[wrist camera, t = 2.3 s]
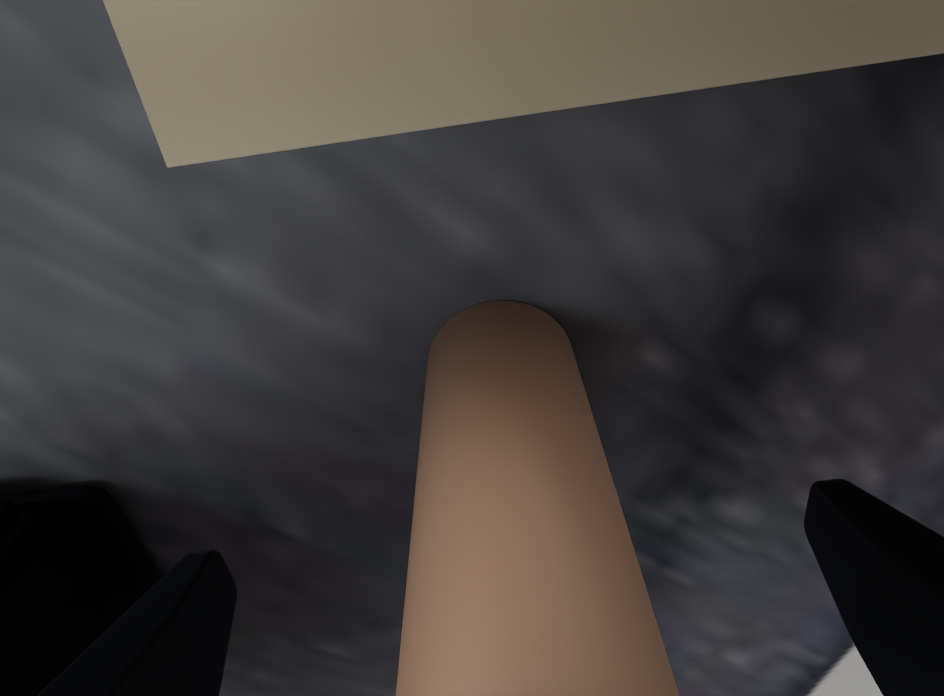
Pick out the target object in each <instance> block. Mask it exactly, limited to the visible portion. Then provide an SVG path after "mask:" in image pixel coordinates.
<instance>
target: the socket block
mask: <svg viewBox="0 0 944 696" xmlns="http://www.w3.org/2000/svg"><path fill="white" fill-rule="evenodd" d="M103 2H104V4H105V7H106V9H107V12H108V15H109V17H110V20H111V22H112V25H113V28H114V30H115V33H116V35H117V38H118V41H119V43H120V46H121V48H122V51H123V54H124V56H125V59H126V61H127V64H128V67H129V69H130V72H131V74H132V77H133V80H134V82H135V85H136V87H137V90H138V93H139V95H140V98H141V100H142V103H143V106H144V108H145V111H146V113H147V116H148V118H149V121H150V124H151V126H152V129H153V131H154V134H155V137H156V139H157V142H158V144H159V147H160V150H161V152H162V155H163V157H164V160H165V163H166V165H167V168H169V167H175V166H182V165H189V164H196V163H202V162H209V161H216V160H223V159H230V158H236V157H243V156H250V155H257V154H264V153H270V152H277V151H284V150H291V149H298V148H304V147H311V146H318V145H325V144H331V143H338V142H345V141H352V140H359V139H365V138H372V137H379V136H386V135H393V134H399V133H406V132H413V131H420V130H426V129H433V128H440V127H447V126H454V125H460V124H467V123H474V122H481V121H488V120H494V119H501V118H508V117H515V116H521V115H528V114H535V113H542V112H549V111H555V110H562V109H569V108H576V107H583V106H589V105H596V104H603V103H610V102H617V101H623V100H630V99H637V98H644V97H650V96H657V95H664V94H671V93H678V92H684V91H691V90H698V89H705V88H712V87H718V86H725V85H732V84H739V83H745V82H752V81H759V80H766V79H773V78H779V77H786V76H793V75H800V74H807V73H813V72H820V71H827V70H834V69H840V68H847V67H854V66H861V65H868V64H874V63H881V62H888V61H895V60H902V59H908V58H915V57H922V56H929V55H936V54H942V53H944V0H103Z"/></svg>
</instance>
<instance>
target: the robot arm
mask: <svg viewBox="0 0 944 696" xmlns="http://www.w3.org/2000/svg"><path fill="white" fill-rule="evenodd" d="M804 528H805V533H806V536H807V539H808V541H809V543H810V546H811V548H812V550H813V552H814V555H815V557H816V559H817V562H818V564H819V566H820V569H821V571H822V573H823V576H824V578H825V580H826V582H827V585H828V587H829V589H830V592H831V594H832V596H833V599H834V601H835V603H836V606H837V608H838V610H839V612H840V615H841V617H842V619H843V622H844V624H845V626H846V628H847V630H848V632H849V634H850V636H851V638H852V640H853V642H854V644H855V646H856V648H857V650H858V652H859V653H860V655H861V657H862V659H863V660H864V662H865V664H866V666H867V668H868V669H869V671H870V673H871V675H872V676H873V678H874V680H875V682H876V684H877V685H878V687H879V689H880V691H881V692H882V694H883V695H884V696H944V537H943V536H941V535H940V534H938V533H936V532H934V531H933V530H931V529H929V528H928V527H926V526H924V525H922V524H921V523H919V522H917V521H916V520H914V519H912V518H910V517H909V516H907V515H905V514H904V513H902V512H900V511H898V510H897V509H895V508H893V507H892V506H890V505H888V504H886V503H885V502H883V501H881V500H880V499H878V498H876V497H874V496H873V495H871V494H869V493H868V492H866V491H864V490H862V489H861V488H859V487H857V486H856V485H854V484H852V483H850V482H849V481H846V480H844V479H832V480H823V481H817V482H814V483H813V484H812V486H811V488H810V492H809V498H808V503H807V508H806V513H805V519H804ZM236 599H237V588H236V584H235V581H234V579H233V577H232V575H231V573H230V571H229V569H228V567H227V565H226V563H225V561H224V559H223V557H222V555H221V554H220V552H218V551H217V550H214V549H211V550H202V551H194V552H191V553H189V554H187V555H186V556H185V557H184V558H182V559H181V560H180V561H179V562H178V563H177V564H176V565H175V566H174V567H173V568H172V569H171V570H170V571H169V572H168V573H167V574H166V575H164V576H163V577H162V578H160V576H159V574H158V572H157V571H156V569H155V567H154V566H153V564H152V562H151V561H150V559H149V557H148V555H147V554H146V552H145V550H144V549H143V547H142V545H141V544H140V542H139V540H138V538H137V537H136V535H135V533H134V532H133V530H132V528H131V527H130V525H129V523H128V521H127V520H126V518H125V516H124V515H123V513H122V511H121V509H120V508H119V506H118V504H117V503H116V501H115V499H114V498H113V497H112V495H111V494H110V493H109V492H107V491H106V490H104V489H102V488H100V487H96V486H92V485H83V486H74V487H66V488H57V489H49V490H40V491H32V492H23V493H15V494H7V495H0V696H219V692H220V688H221V683H222V678H223V672H224V666H225V661H226V655H227V650H228V644H229V639H230V633H231V628H232V622H233V616H234V611H235V605H236Z"/></svg>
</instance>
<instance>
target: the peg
mask: <svg viewBox="0 0 944 696" xmlns="http://www.w3.org/2000/svg"><path fill="white" fill-rule="evenodd" d="M396 696H679V693H678V689H677V686H676V683H675V680H674V676H673V673H672V670H671V667H670V663H669V660H668V657H667V654H666V650H665V647H664V644H663V641H662V638H661V634H660V631H659V628H658V625H657V621H656V618H655V615H654V612H653V608H652V605H651V602H650V599H649V596H648V592H647V589H646V586H645V583H644V579H643V576H642V573H641V570H640V566H639V563H638V560H637V557H636V553H635V550H634V547H633V544H632V541H631V537H630V534H629V531H628V528H627V524H626V521H625V518H624V515H623V511H622V508H621V505H620V502H619V499H618V495H617V492H616V489H615V486H614V482H613V479H612V476H611V473H610V469H609V466H608V463H607V460H606V456H605V453H604V450H603V447H602V444H601V440H600V437H599V434H598V431H597V427H596V424H595V421H594V418H593V414H592V411H591V408H590V405H589V402H588V398H587V395H586V392H585V389H584V385H583V382H582V379H581V376H580V372H579V369H578V366H577V363H576V359H575V356H574V353H573V350H572V347H571V343H570V340H569V338H568V336H567V334H566V333H565V331H564V330H563V328H562V327H561V326H560V325H559V323H558V322H557V321H556V320H555V319H553V318H552V317H551V316H550V315H549V314H547V313H545V312H544V311H542V310H540V309H538V308H536V307H534V306H532V305H528V304H525V303H521V302H516V301H504V300H500V301H490V302H484V303H480V304H477V305H474V306H471V307H469V308H467V309H465V310H463V311H461V312H459V313H458V314H456V315H455V316H453V317H452V318H451V319H450V320H448V321H447V322H446V323H445V324H444V325H443V326H442V328H441V329H440V330H439V332H438V333H437V334H436V336H435V338H434V340H433V342H432V344H431V347H430V350H429V355H428V361H427V371H426V382H425V393H424V403H423V414H422V424H421V435H420V445H419V456H418V466H417V477H416V487H415V498H414V508H413V519H412V529H411V540H410V551H409V561H408V572H407V582H406V593H405V603H404V614H403V624H402V635H401V645H400V656H399V666H398V677H397V687H396Z"/></svg>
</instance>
